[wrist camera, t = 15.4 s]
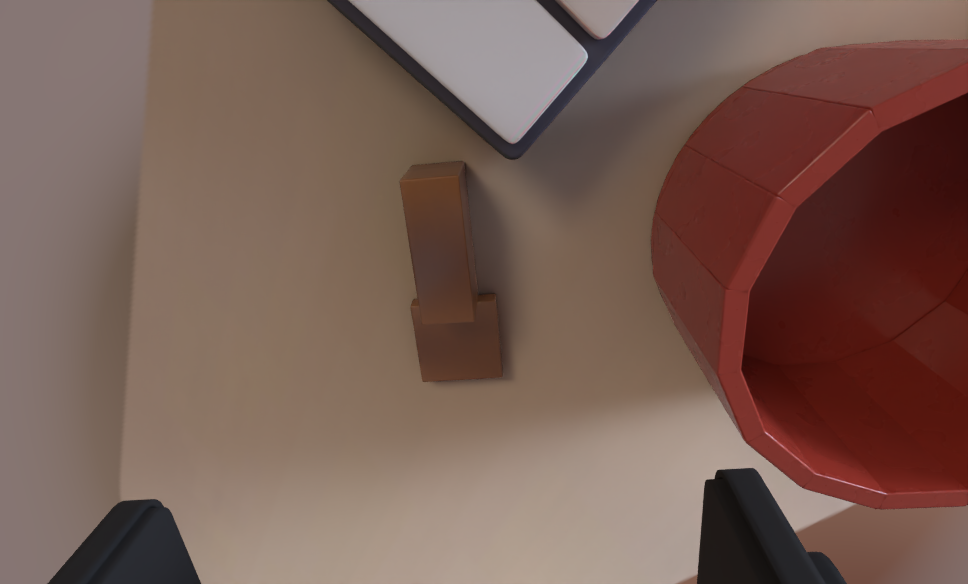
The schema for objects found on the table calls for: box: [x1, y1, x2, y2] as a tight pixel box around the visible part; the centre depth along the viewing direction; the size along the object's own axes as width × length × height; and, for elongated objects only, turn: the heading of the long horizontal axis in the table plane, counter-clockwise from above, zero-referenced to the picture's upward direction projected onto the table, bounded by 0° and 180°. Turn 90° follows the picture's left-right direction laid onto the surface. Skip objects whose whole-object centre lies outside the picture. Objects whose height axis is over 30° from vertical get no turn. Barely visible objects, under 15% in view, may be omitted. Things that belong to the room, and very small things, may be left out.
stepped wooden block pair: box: [400, 161, 503, 382], centre depth 23 cm, size 10×4×3 cm, turn 5°
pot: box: [651, 39, 968, 509], centre depth 19 cm, size 14×14×8 cm
